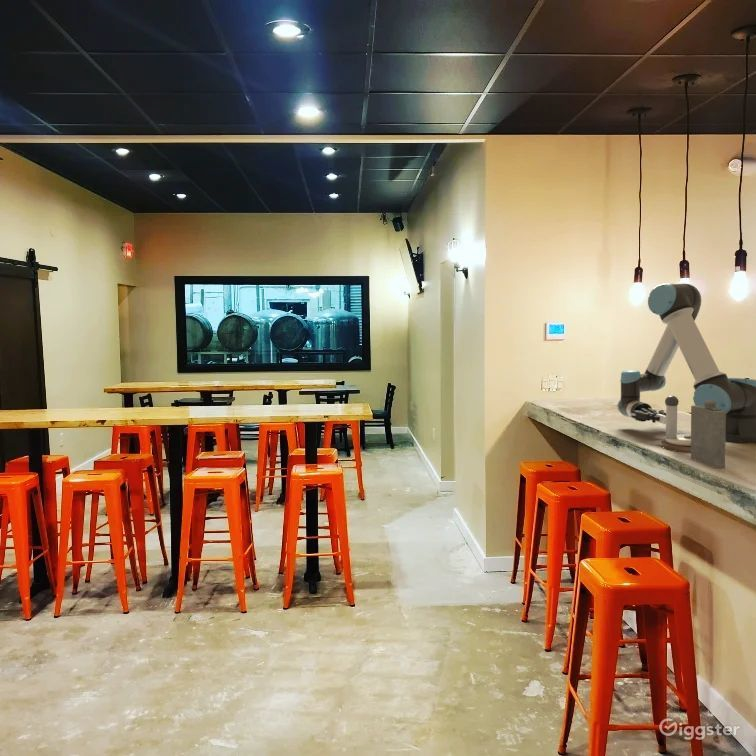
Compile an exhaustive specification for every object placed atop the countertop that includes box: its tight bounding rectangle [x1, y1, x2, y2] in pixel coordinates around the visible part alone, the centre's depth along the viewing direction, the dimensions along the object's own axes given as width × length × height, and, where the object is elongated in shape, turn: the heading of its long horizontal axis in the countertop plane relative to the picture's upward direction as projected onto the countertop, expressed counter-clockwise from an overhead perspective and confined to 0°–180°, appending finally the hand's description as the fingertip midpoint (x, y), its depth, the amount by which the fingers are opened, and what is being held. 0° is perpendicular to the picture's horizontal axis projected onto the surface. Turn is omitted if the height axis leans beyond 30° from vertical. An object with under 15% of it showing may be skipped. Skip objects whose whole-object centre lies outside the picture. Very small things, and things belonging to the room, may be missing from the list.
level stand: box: [660, 439, 691, 453], centre depth 224 cm, size 18×18×5 cm
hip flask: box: [690, 401, 726, 469], centre depth 199 cm, size 16×4×20 cm, turn 3°
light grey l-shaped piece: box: [664, 395, 691, 446], centre depth 223 cm, size 16×15×17 cm
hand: (665, 420), depth 229 cm, fingers closed
